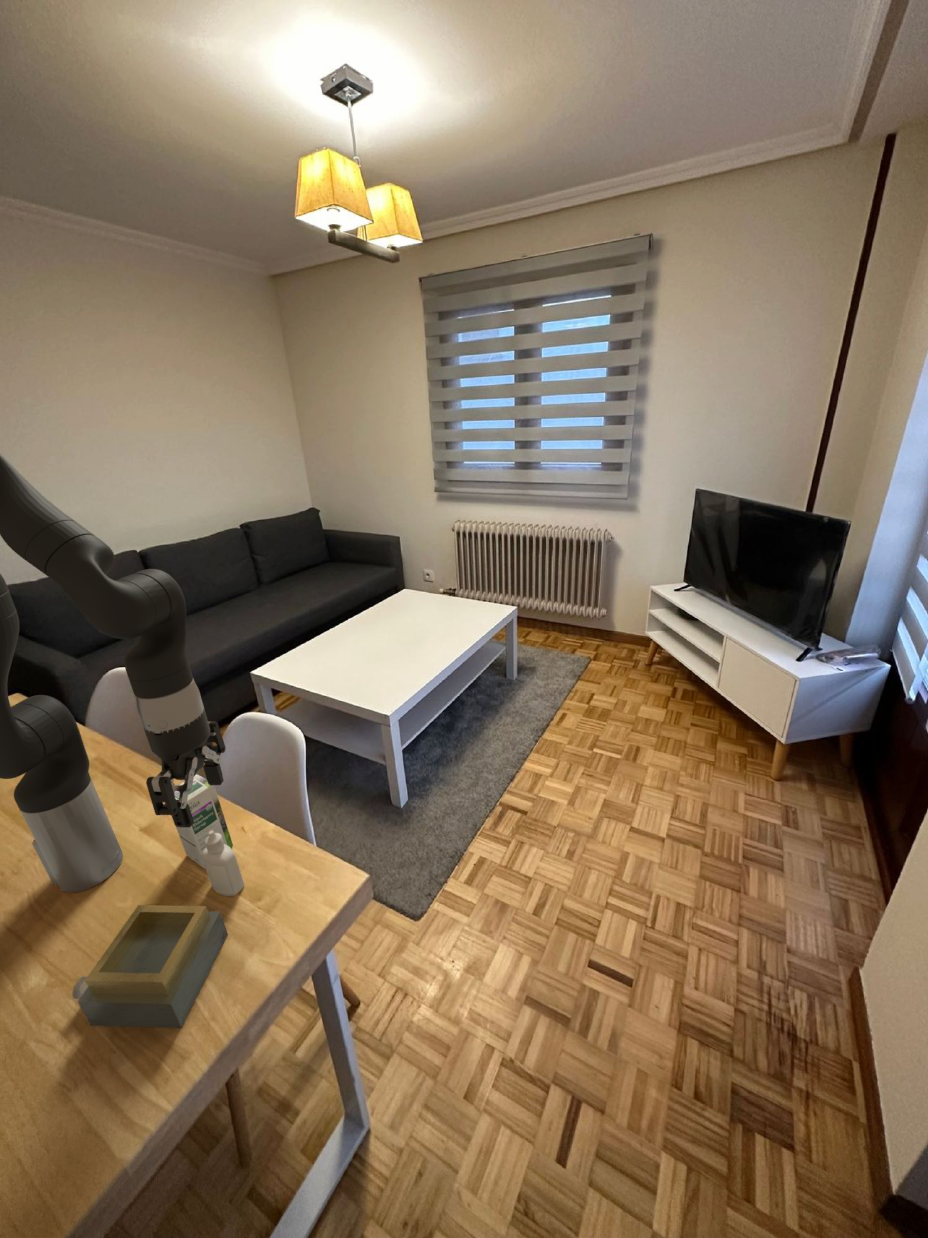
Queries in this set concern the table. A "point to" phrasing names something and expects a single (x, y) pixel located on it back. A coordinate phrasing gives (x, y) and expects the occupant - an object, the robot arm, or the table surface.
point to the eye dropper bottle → (222, 866)
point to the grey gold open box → (153, 968)
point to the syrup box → (202, 819)
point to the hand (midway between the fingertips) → (202, 803)
